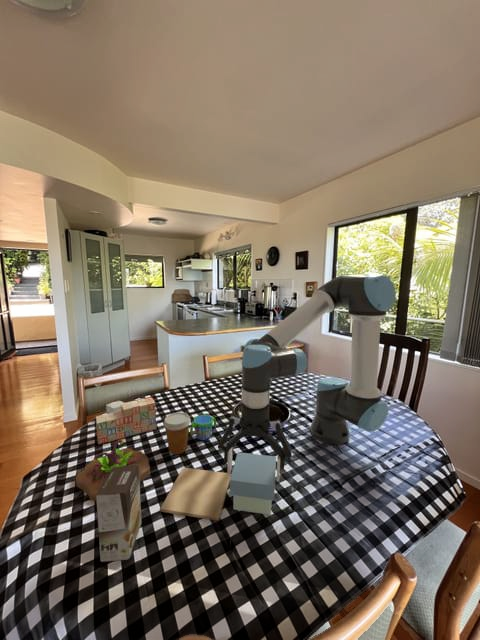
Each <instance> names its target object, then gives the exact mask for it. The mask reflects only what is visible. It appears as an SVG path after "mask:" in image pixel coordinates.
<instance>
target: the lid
mask: <svg viewBox="0 0 480 640" xmlns="http://www.w3.org/2000/svg"><path fill="white" fill-rule="evenodd" d="M235 456H236V457H235V461H234V464H233V466H232V470H231V478H230V483H229V495H231V496H233V495H237V496H244V497H251V498H258V499H265V500H272V501H273V502H274V501H275V491H276V490H275V489H276V474H277V456H275V455H267V454H266V455H265V454H258V453H256V454H255V453H248V452H241V451H240V452H237V454H236V455H235Z"/></svg>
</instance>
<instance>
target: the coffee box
mask: <svg viewBox="0 0 480 640" xmlns="http://www.w3.org/2000/svg"><path fill="white" fill-rule="evenodd" d="M140 484H141V482H139V465H128V466H121V467H113V468H112V470H111V471H110V473H109V474H108V476H107V478H106V479H105V481H104V483H103V484H102V486H101V487H100V489H99V491H98V492H97V494H96V499H97V502H96V510H97V511H96V513H97V527H98V528H97V530H98V541H99V555H100V556H99V558H100V562H112V561H115V562H116V561H125V560H126V561H127V560H129V559H130V557H131V555H132V553H133V549H134V546H135V543H136V540H137V537H138V534H139V531H140V528H141V527H142V526H141V525H142V508H141V505H142V504H141V487H140Z"/></svg>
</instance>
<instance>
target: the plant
mask: <svg viewBox="0 0 480 640" xmlns="http://www.w3.org/2000/svg"><path fill="white" fill-rule="evenodd" d="M124 443H125V440H124V439H123V438H120V439H117V440H115V443H114V444H113V448H112V451H111V452H100V453H98V454H97V455H96V456H94V457H93V458H92V461H91V462H90V463H89V462H88V463H87V464H86V465H85V468H84V469H83V470H81V471H78V473H77V475H76V477H75V485H76V487H77V488H78V489H80V490H82V491H83V492H85V493H86V495H88V497H89V499H90V500H89V501H92V502H96V503H97V499H96V494H97V492H98V491H99V489H100V487H101V486H102V484H103V483H104V481H105V479H106V478H107V476H108V474H109V473H110V471H111V470H112V468H113V467H121V466H128V465H139V482H140V483H141V482H142V481H143V480H144V479H146V478H147V477H148V476H149V475H150V474H151V467H150V461H149V457H148V456H147V455H146V454H145V453H144V452H142V451H141V450H135V449H132V448H130V447H125V448H121V449H119V448H117V444H119V445H120V444H121V445H123V444H124ZM100 456H102V457H100Z"/></svg>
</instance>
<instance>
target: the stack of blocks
mask: <svg viewBox="0 0 480 640" xmlns="http://www.w3.org/2000/svg"><path fill="white" fill-rule="evenodd" d="M156 407H157V405H156V402H155V400H154V398H153V397H147V398H141V399H136V400H132V401H128V402H124V403H122V404H121V411H118V412H114V413H109V414H107V413H106V414H100V415H95V423H96V424H95V426H96V438H97V444H98V445H101V444H102V445H103V444H105V443H109V442H113V441H118V440H119V439H123V438H128V437H131V436H135V435H139V434H142V433H145V432H150V431H153V430H157V408H156Z"/></svg>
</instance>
